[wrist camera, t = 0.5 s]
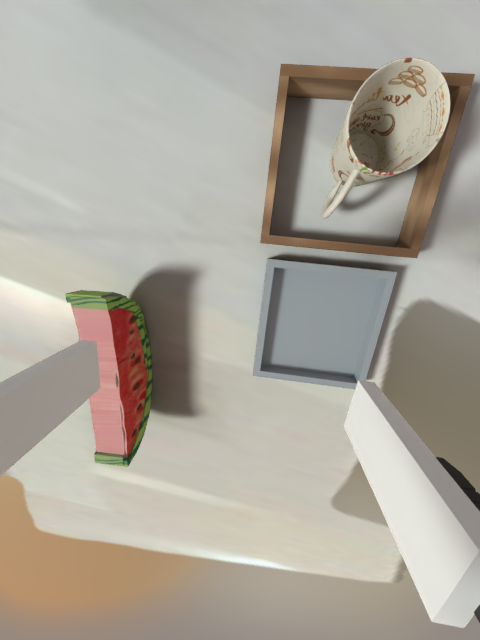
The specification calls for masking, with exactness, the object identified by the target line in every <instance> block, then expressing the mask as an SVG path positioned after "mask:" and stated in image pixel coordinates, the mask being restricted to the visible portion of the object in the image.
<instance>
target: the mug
mask: <svg viewBox="0 0 480 640" xmlns="http://www.w3.org/2000/svg"><path fill="white" fill-rule="evenodd" d="M449 113H450V93H449V88H448V85H447V82H446V80H445V78H444V76H443V75H442V73H441V72H440V71H439V70H438V69H437V68H436V67H435V66H434V65H433V64H431V63H429V62H427V61H425V60H422V59H419V58H402V59H398V60H395V61H392V62H390V63H387V64H386V65H384V66H382V67H381V68H379V69H378V70H376V71H375V72H374V73H373V74H372V75H371V76H370V77H369V78H368V79H367V80H366V81H365V82H364V83H363V85H362V86H361V87H360V89H359V90H358V92H357V93H356V95H355V97H354V99H353V101H352V103H351V105H350V107H349V110H348V112H347V115H346V117H345V120H344V123H343V125H342V128H341V130H340V133H339V135H338V138H337V141H336V143H335V146H334V148H333V151H332V154H331V159H330V168H331V172H332V175H333V177H334V178H335V180H336V181H337V183H336V185H335V186H334V188H333V189H332V191H331V192H330V194H329V195H328V197H327V199H326V200H325V203H324V206H323V210H322V218H323V219H325V218H327V217H329V216H330V215H331V214H332V213H333V212H334V211H335V209H336V208H337V207H338V206H339V204H340V203H341V202H342V200H343V199H344V198H345V196H346V195H347V193H348V191H349V190H350V188H351V187H354V186H359V185H362V184H366V183H369V182H373V181H376V180H380V179H383V178H387V177H390V176H394V175H397V174H400V173H402V172H405V171H407V170H409V169H411V168H413V167H414V166H416V165H417V164H419V163H420V162H421V161H422V160H424V159H425V158H426V157H427V156H428V155H429V154H430V153H431V152H432V150H433V149H434V148H435V146H436V145H437V144H438V142H439V140H440V139H441V137H442V135H443V133H444V131H445V128H446V125H447V122H448V119H449ZM341 184H342V185H344V186H343V188H342V189H341V191H340V192H339V194H338V195H337V197H336V198H335V199H334V197H335V195H336V193H337V192H338V190H339V188H340V186H341ZM333 199H334V201H333ZM332 201H333V202H332Z"/></svg>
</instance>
